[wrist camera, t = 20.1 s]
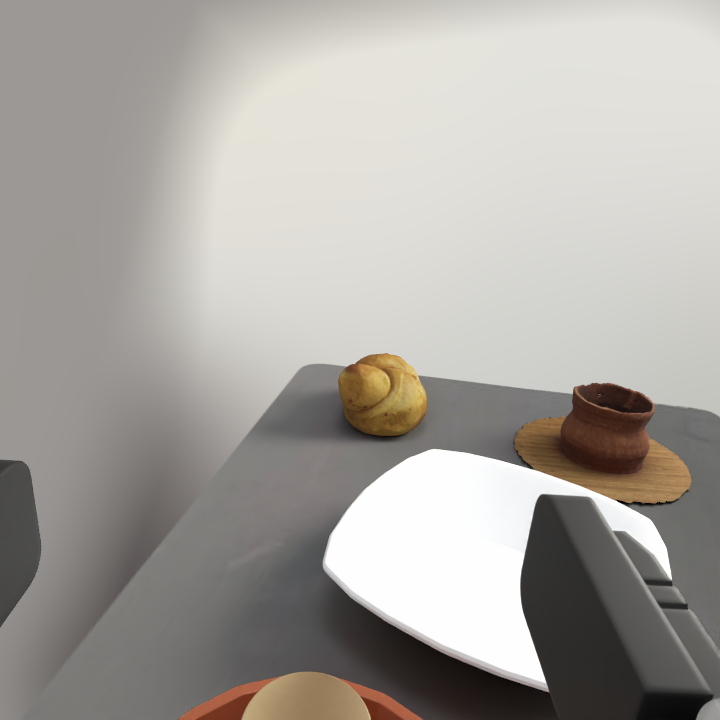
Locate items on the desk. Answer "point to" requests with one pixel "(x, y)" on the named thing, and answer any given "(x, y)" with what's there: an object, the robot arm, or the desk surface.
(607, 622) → the robot arm
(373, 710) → the clay bowl
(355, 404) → the bread roll
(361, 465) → the desk surface
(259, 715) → the tan cylinder
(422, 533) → the bowl
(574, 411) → the ceramic pot
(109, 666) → the desk surface
